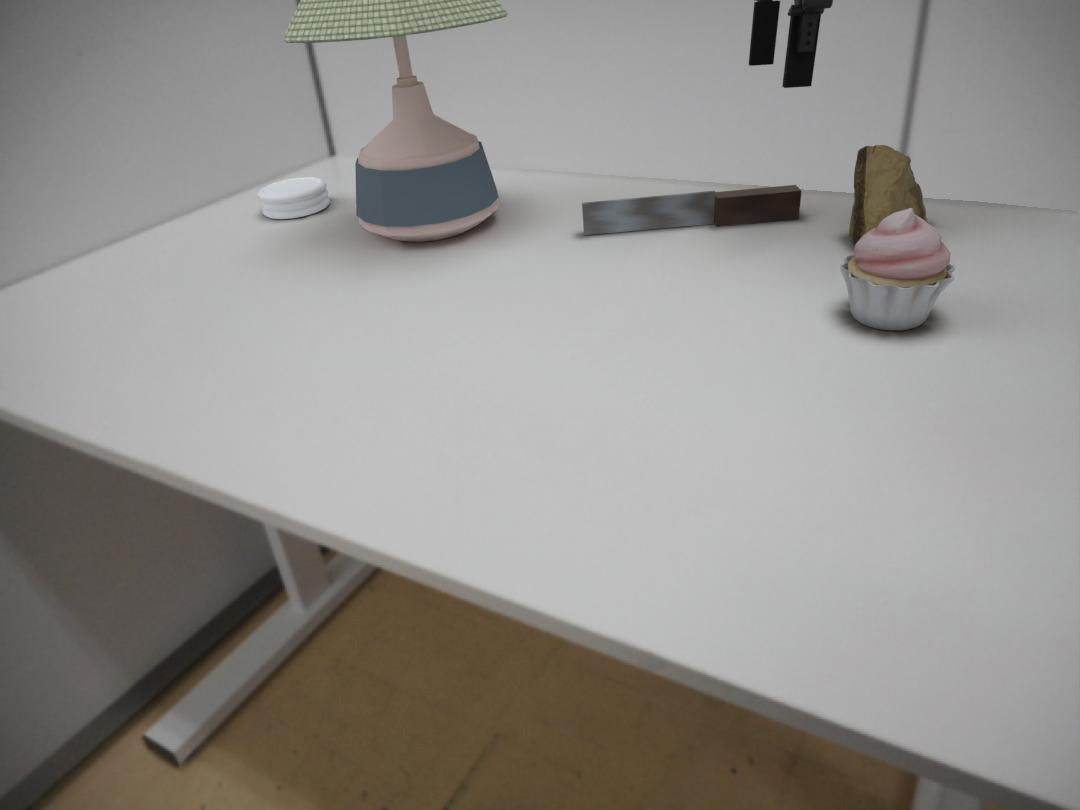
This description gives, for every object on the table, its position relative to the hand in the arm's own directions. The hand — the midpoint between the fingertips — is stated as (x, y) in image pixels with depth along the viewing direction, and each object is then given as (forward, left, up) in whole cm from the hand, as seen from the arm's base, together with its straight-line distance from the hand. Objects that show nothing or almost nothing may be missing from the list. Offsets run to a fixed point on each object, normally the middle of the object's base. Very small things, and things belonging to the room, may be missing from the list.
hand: (777, 75), depth 81 cm
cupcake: (-4, +27, -17) cm, 32 cm away
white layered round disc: (+64, -23, -17) cm, 70 cm away
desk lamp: (+42, -10, -17) cm, 46 cm away
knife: (+9, -1, -17) cm, 19 cm away
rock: (-12, +7, -17) cm, 22 cm away
